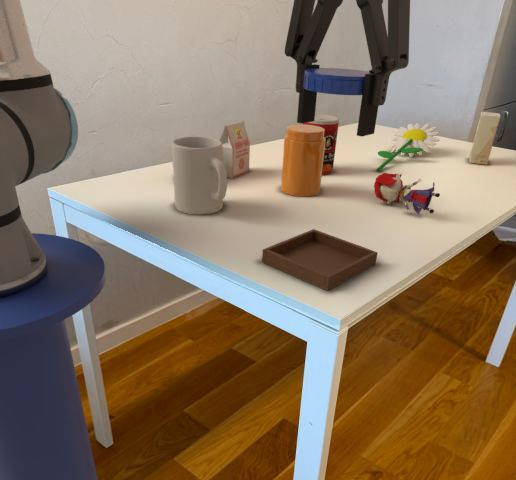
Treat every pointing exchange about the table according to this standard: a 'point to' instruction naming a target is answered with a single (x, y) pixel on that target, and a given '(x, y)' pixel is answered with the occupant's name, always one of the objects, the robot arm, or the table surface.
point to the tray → (319, 258)
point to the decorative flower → (410, 142)
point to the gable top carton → (235, 149)
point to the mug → (198, 175)
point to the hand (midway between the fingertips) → (334, 127)
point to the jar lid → (334, 81)
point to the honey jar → (303, 160)
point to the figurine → (403, 192)
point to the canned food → (327, 138)
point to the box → (484, 137)
